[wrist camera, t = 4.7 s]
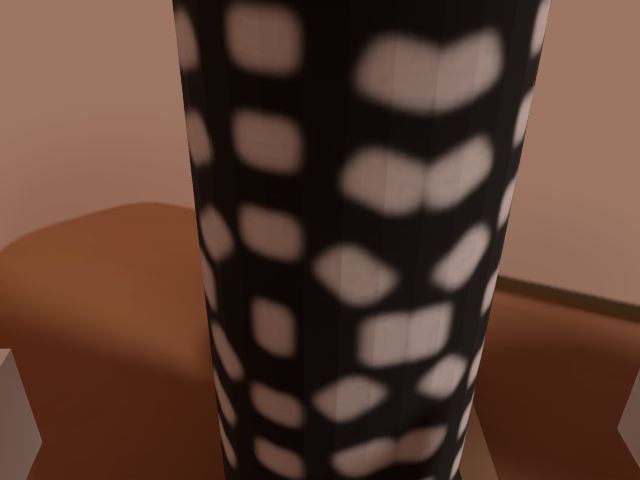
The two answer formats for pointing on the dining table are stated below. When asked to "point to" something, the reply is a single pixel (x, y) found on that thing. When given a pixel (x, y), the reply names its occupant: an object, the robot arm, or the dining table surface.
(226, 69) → the white-spotted black cylinder
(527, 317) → the dining table surface
